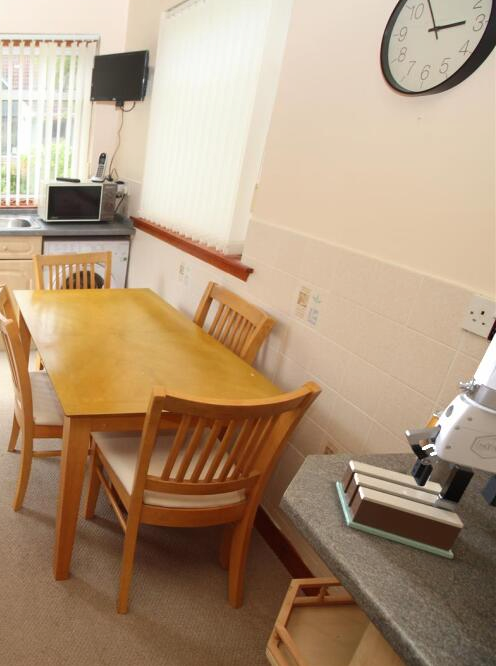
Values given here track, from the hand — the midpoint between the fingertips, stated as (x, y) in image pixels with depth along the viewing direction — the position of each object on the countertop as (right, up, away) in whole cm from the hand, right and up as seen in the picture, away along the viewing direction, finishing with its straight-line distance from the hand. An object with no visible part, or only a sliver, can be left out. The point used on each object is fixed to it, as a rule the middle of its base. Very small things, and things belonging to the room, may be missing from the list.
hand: (452, 490), depth 76 cm
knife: (0, -9, +3) cm, 9 cm away
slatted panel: (-4, -8, +7) cm, 11 cm away
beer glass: (+11, -5, +17) cm, 21 cm away
